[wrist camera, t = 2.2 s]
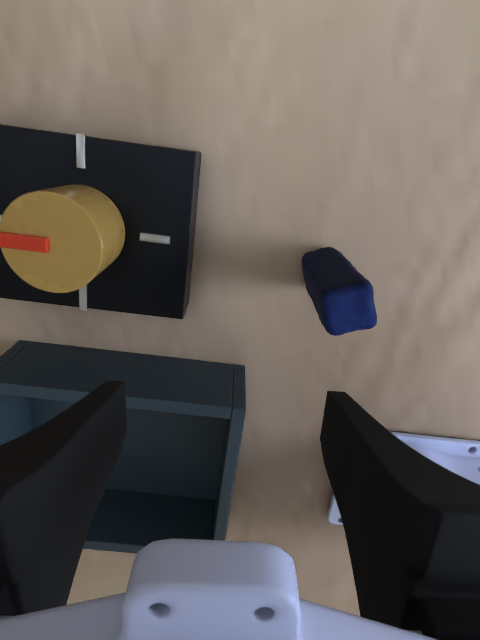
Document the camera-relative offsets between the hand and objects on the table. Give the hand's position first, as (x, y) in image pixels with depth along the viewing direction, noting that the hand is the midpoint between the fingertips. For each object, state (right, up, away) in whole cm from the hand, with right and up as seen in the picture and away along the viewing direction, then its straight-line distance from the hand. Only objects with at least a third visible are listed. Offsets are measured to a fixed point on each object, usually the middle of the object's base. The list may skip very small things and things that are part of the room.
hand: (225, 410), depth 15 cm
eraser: (+5, +6, +8) cm, 11 cm away
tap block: (-7, +8, +7) cm, 13 cm away
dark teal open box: (-7, -4, +12) cm, 14 cm away
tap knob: (-7, +7, +5) cm, 11 cm away
